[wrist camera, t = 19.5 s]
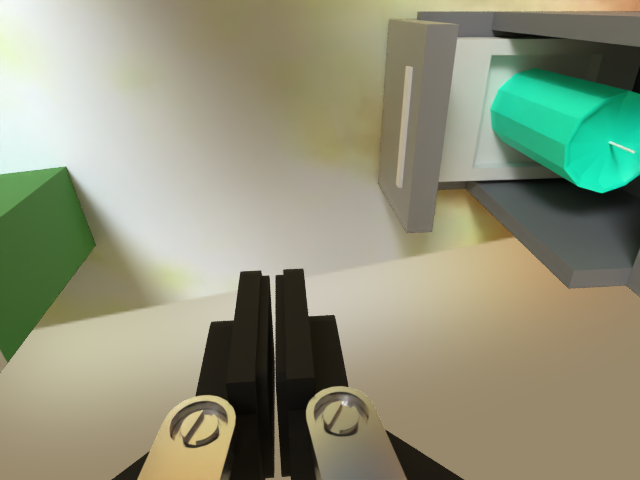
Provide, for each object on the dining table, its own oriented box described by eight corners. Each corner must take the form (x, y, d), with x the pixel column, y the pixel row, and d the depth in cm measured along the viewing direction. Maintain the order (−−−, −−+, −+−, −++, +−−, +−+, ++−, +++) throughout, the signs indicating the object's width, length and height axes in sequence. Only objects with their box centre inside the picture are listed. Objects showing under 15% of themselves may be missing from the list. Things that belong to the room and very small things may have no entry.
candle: (553, 144, 37) (664, 200, 26) (483, 146, 37) (568, 203, 26) (572, 67, 34) (705, 95, 24) (497, 68, 34) (598, 97, 23)
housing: (401, 186, 40) (484, 305, 24) (417, 11, 34) (545, 17, 18) (592, 180, 42) (787, 289, 26) (642, 11, 35) (947, 16, 19)
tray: (375, 183, 39) (403, 233, 31) (385, 19, 33) (423, 24, 25) (578, 177, 41) (658, 222, 32) (623, 18, 35) (736, 23, 26)
